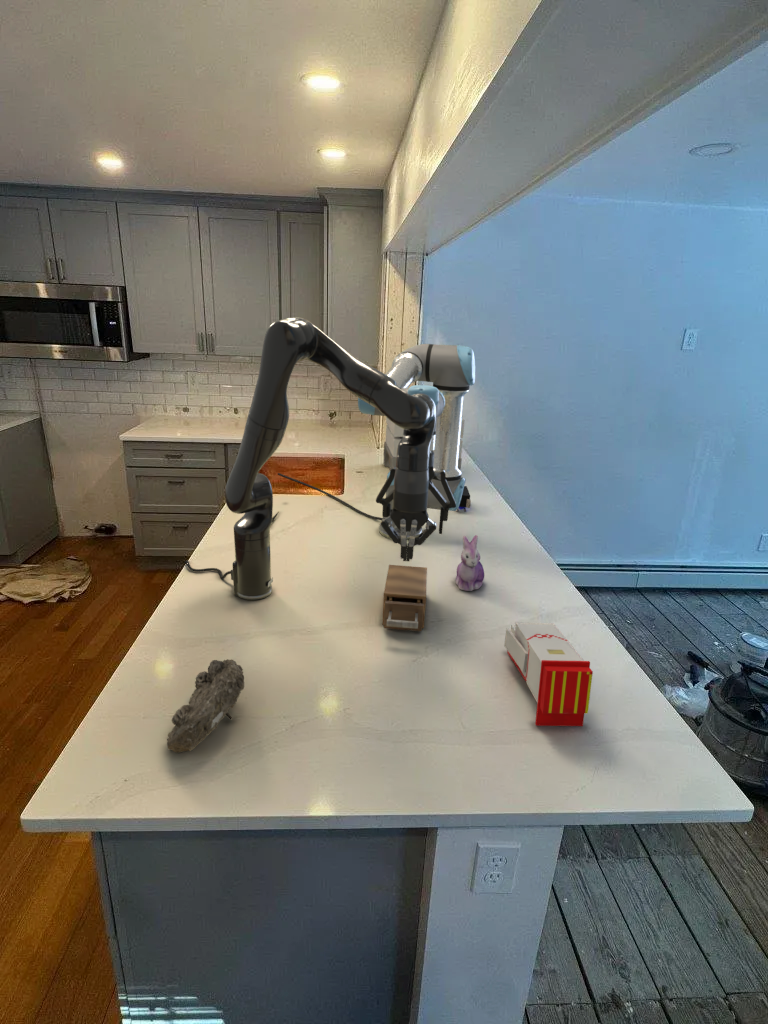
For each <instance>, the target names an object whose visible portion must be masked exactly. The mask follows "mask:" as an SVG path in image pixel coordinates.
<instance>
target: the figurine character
mask: <svg viewBox="0 0 768 1024" xmlns="http://www.w3.org/2000/svg"><path fill="white" fill-rule="evenodd" d="M471 501H472V500H471V494H470V491H469V488H468V486H467V485H464V490H463V494H462V498H461V501H460V505H459V507H458V509H457V510H456V511H457V512H460V510H463V511H464V513H466V512H467V509H470V508H471V505H472V504H471ZM466 508H467V509H466Z"/></svg>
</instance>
